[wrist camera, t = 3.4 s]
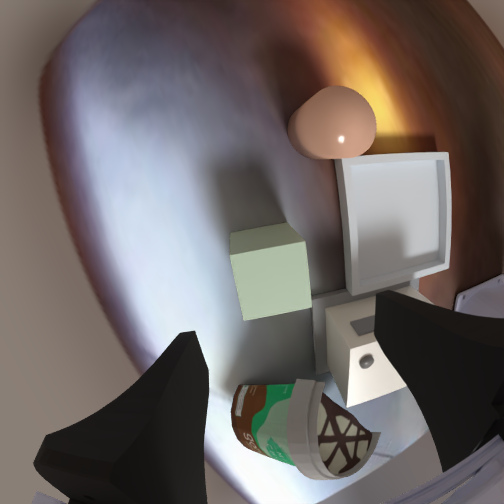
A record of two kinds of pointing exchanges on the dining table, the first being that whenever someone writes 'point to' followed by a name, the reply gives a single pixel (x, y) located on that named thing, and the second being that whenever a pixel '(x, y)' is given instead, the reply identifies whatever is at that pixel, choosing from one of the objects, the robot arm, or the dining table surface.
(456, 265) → the dining table surface
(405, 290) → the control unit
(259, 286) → the green part
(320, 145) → the terracotta part
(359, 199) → the tray
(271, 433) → the food container
